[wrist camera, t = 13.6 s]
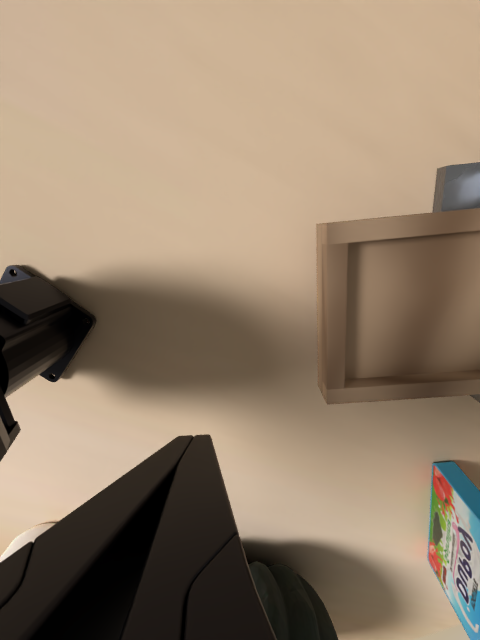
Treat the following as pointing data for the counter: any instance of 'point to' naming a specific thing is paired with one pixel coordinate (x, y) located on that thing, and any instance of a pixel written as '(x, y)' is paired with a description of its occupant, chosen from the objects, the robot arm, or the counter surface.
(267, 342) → the counter surface
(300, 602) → the squash
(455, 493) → the yogurt
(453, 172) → the pivot stand
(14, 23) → the counter surface
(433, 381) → the brown wooden tray
